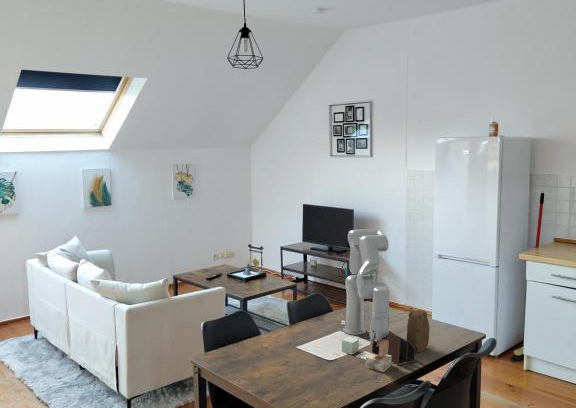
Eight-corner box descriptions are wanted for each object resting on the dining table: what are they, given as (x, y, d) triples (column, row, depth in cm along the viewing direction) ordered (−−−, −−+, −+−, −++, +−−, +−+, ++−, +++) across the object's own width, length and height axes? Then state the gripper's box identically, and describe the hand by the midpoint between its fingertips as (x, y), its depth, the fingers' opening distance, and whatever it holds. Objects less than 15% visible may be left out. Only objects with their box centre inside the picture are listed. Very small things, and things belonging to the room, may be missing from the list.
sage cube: (341, 351, 268) (342, 339, 267) (348, 348, 273) (348, 336, 272) (351, 354, 264) (352, 343, 263) (358, 351, 269) (358, 339, 268)
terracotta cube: (370, 353, 250) (370, 340, 249) (376, 349, 254) (377, 337, 254) (381, 356, 246) (381, 344, 245) (388, 352, 251) (388, 340, 250)
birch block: (365, 367, 250) (365, 357, 249) (373, 361, 257) (374, 351, 257) (383, 372, 245) (383, 362, 244) (391, 365, 252) (391, 355, 252)
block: (415, 354, 266) (417, 315, 263) (404, 349, 272) (406, 310, 269) (430, 349, 272) (432, 311, 269) (419, 344, 278) (421, 307, 276)
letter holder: (398, 366, 252) (399, 337, 250) (373, 351, 269) (374, 323, 268) (415, 362, 256) (416, 334, 254) (389, 348, 274) (390, 321, 272)
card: (355, 356, 262) (355, 355, 261) (364, 352, 268) (364, 351, 267) (369, 361, 256) (369, 360, 256) (378, 356, 262) (378, 355, 262)
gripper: (383, 307, 257) (381, 344, 259) (363, 316, 244) (362, 354, 246) (397, 311, 252) (395, 348, 254) (377, 320, 239) (376, 359, 241)
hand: (379, 351), depth 250 cm, fingers closed on terracotta cube, 5 cm apart
